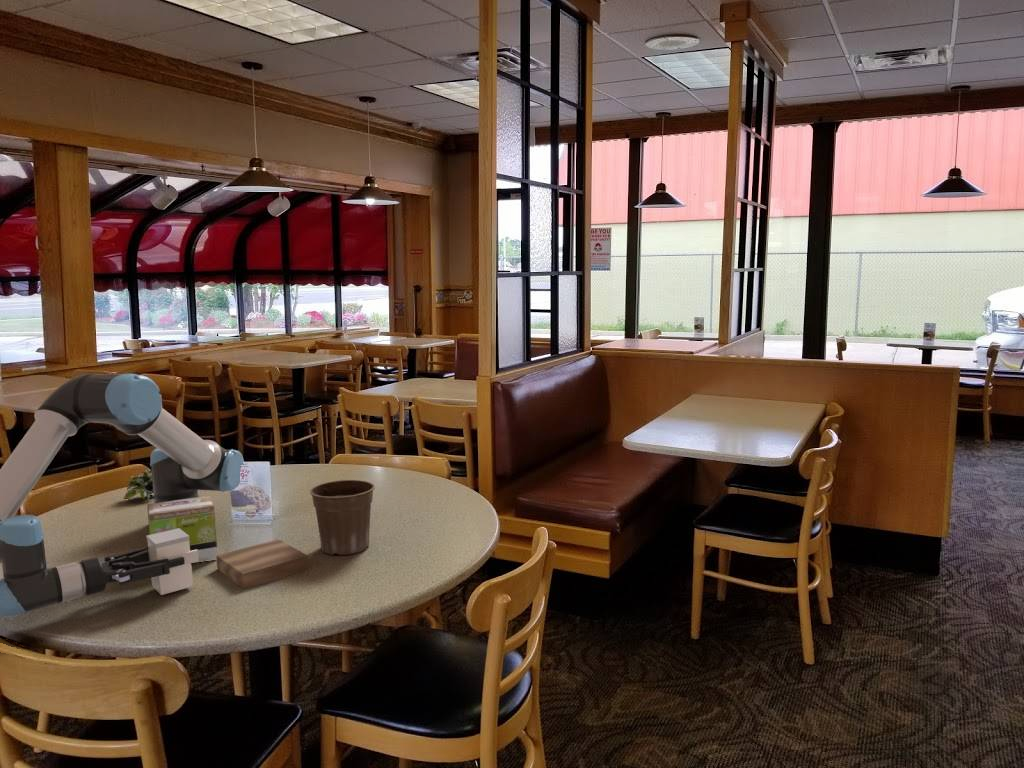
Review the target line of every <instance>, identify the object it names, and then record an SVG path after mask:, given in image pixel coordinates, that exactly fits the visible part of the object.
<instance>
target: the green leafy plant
mask: <svg viewBox="0 0 1024 768" xmlns="http://www.w3.org/2000/svg"><path fill="white" fill-rule="evenodd" d="M130 478H131V480H129V481H128V483H129V484H128V485H127V487H126V491H127V492H126V493H125V495H124V497H123V500H124V499H125V500H126V499H129V500H130V499H131V498H133V497H134V496H136V495H137V494H139V496H140V498H142V499H144V500H145V494H146V497H147V500H148V499H149V500H150V497H151V496H150V495H151V494H152V493H154V491H153V482H152V474H151V469H147V470H145V471H144V470H142V471H141V474H137V475H136V476H132V475H131V477H130Z"/></svg>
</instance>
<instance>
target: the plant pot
mask: <svg viewBox="0 0 1024 768" xmlns="http://www.w3.org/2000/svg"><path fill="white" fill-rule="evenodd" d="M375 488H376V486H375V484H374V483H373V482H371V481H367V480H361V479H342V480H332V481H326V482H323V483H320V484H317V485H315V486H313V487H311V489H310V490H309V494H310V495H311V496H312V497H311V498H312V502H313V507H314V509H315V512H316V513H315V514H316V519H317V527H318V532H319V540H320V548H321V551H322V552H323V553H325V554H327V555H332V556H333V555H335V554H337V555H339V556H347V555H348V556H349V555H355V554H358V553H361V552H364V551H366V549H367V548H368V547H369V546H370V530H371V529H370V527H371V508H372V506H371V505H372V503H373V495H374V493H373V492H374V490H375Z"/></svg>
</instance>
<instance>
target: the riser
mask: <svg viewBox="0 0 1024 768" xmlns="http://www.w3.org/2000/svg"><path fill="white" fill-rule="evenodd" d="M216 558H217V560H216V566H217V567H216V568H218V569H219V570H220V571H221V572H220V571H219V570H218V569H217V570H218V571H219V572H220V573H222V572H223V573H224V574H225V575H224V574H223V573H222V574H223V575H224V576H226V577H227V576H228V577H227V578H229V580H231V579H232V580H231V581H233V582H234V583H235V584H236V585H238V586H239V587H241V588H242V589H243V590H244V589H249V588H251V587H255V586H258V585H261V584H265V583H269V582H272V581H275V580H278V579H281V578H284V577H288V576H291V575H294V574H298V573H301V572H305V571H308V570H309V558H308V555H307V554H306V553H304V552H302V551H301V550H298V549H297V548H296V547H293V546H292V545H289V544H288V543H286V542H284V541H283V540H281V539H279V538H278V539H274V540H270V541H267V542H263V543H259V544H255V545H251V546H248V547H244V548H240V549H236V550H233V551H232V550H231V551H229V552H225V553H221V554H217V556H216Z"/></svg>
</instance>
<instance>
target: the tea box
mask: <svg viewBox="0 0 1024 768" xmlns="http://www.w3.org/2000/svg"><path fill="white" fill-rule="evenodd" d="M146 507H147V520H148V521H147V522H148V530H149V531H148V532H149V533H148V535H152V534H156V533H160V532H165V531H169V530H173V529H178V528H180V529H181V530H182V531H184V532H185V533H186V534H187V535H189V538H190V540H189V545H190V551H192V550H196V549H197V550H198V557H199V562H200V561H206V560H212V559H217V558H216V556H217V555H218V542H217V541H218V540H217V527H216V513H215V512H216V511H215V504H214V503H213V500H212V499H211V496H210V495H207V496H206V495H205V496H199V497H197V498H189V499H182V500H175V501H167V502H160V503H154V502H153V503H148V504H147V503H146Z"/></svg>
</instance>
